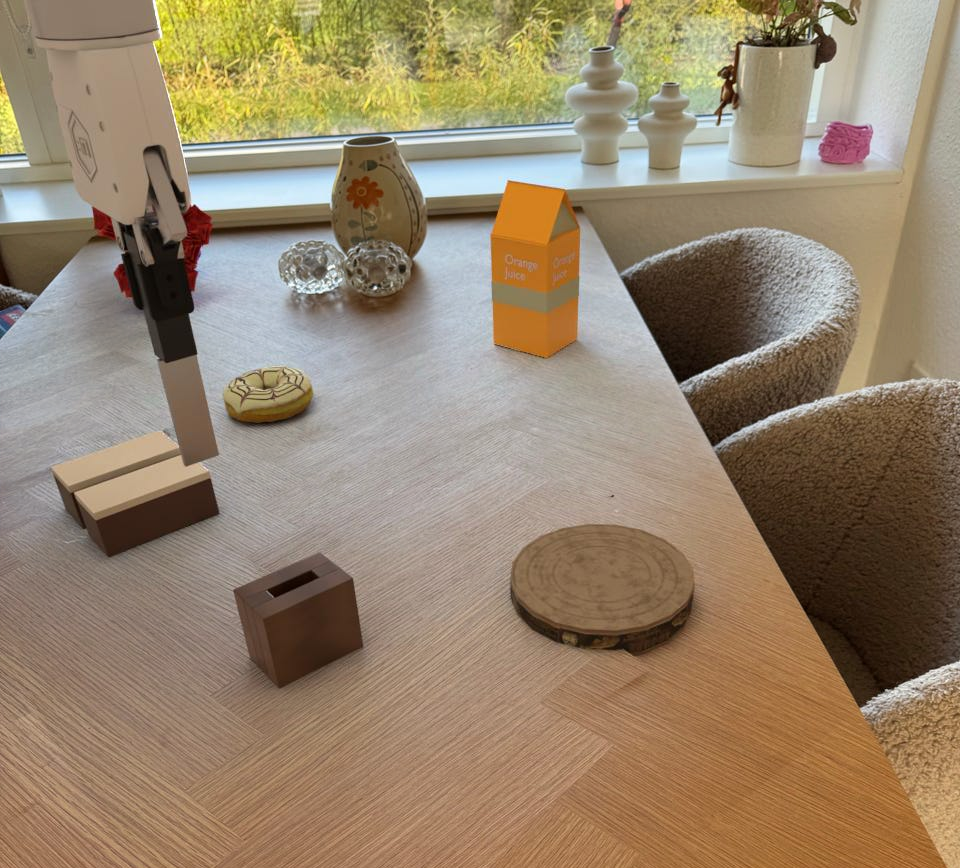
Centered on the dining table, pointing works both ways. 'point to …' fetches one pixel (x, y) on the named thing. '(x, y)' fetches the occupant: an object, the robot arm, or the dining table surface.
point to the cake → (110, 466)
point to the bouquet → (192, 243)
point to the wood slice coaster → (603, 588)
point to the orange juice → (535, 269)
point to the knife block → (299, 618)
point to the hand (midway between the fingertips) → (164, 308)
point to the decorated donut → (268, 394)
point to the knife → (178, 374)
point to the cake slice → (146, 504)
